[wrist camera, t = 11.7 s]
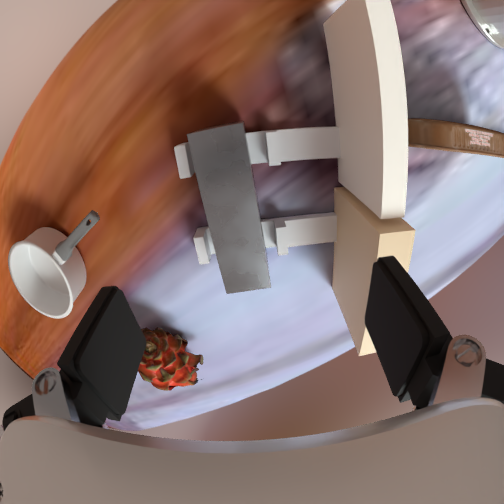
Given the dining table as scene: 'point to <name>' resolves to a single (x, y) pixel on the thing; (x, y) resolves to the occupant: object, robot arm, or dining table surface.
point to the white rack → (347, 160)
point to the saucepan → (50, 268)
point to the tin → (454, 137)
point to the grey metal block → (231, 205)
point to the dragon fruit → (167, 360)
